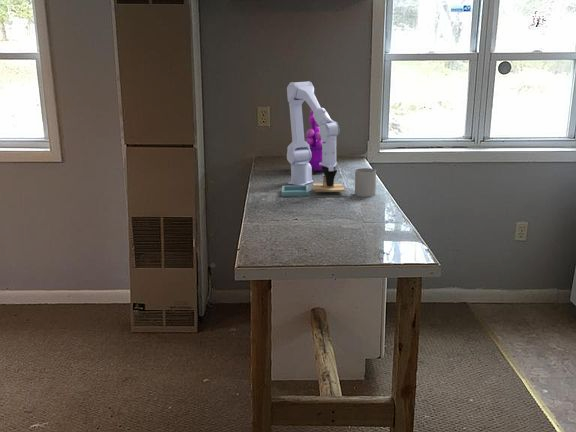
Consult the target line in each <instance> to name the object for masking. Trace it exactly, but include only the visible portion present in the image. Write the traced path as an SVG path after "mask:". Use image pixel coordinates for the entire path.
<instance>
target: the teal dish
mask: <svg viewBox="0 0 576 432" xmlns="http://www.w3.org/2000/svg"><path fill="white" fill-rule="evenodd" d="M281 197H282V198H286V197H287V198H293V197H295V198H296V197H297V198H298V197H310V189H309V185H308V184H306V185H303V186H300V185H282V186H281Z"/></svg>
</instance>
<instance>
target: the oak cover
mask: <svg viewBox="0 0 576 432" xmlns="http://www.w3.org/2000/svg"><path fill="white" fill-rule="evenodd" d="M312 186H313V187H312V188H314V190H315V192H344V191H345V190H346V188H345V187H344V185H343V183H342V182H335V181H334V182H333V186H327V183H326V176H324V175H323V176H322V182H312ZM344 188H345V189H344Z"/></svg>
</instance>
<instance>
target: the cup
mask: <svg viewBox="0 0 576 432" xmlns="http://www.w3.org/2000/svg"><path fill="white" fill-rule="evenodd" d="M354 178H355V179H354V195H355V196H356V197H363V198H364V197H365V198H367V197H368V198H369V196H370V197H374V196H376V187H377V186H376V183H377V169H375V168H370V167H369V168H368V167H362V168H356V169H355V170H354Z"/></svg>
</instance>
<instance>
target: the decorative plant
mask: <svg viewBox="0 0 576 432" xmlns="http://www.w3.org/2000/svg"><path fill="white" fill-rule="evenodd" d="M313 113H314V112H313V110H312V109H311V108H310V110H309V115H311V116H309V119H308V122H309V124H310V125H311V128H309V129H307V131H306V133H305V137H306V138H305V142H307V143H308V144H309V146H310V151H311V154H312V157H311V160H310V161H309V164H310V165H311V167H312V172H319V171H321V172H322V171H323V169H322V167H323V165H319V163H322V141H321V136H320V133H319V129H320V127H319V126H317V125H318V124H317V122H316V121H315V119H314V117H313ZM300 148H302V147H300ZM296 149H299V148H296Z"/></svg>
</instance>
